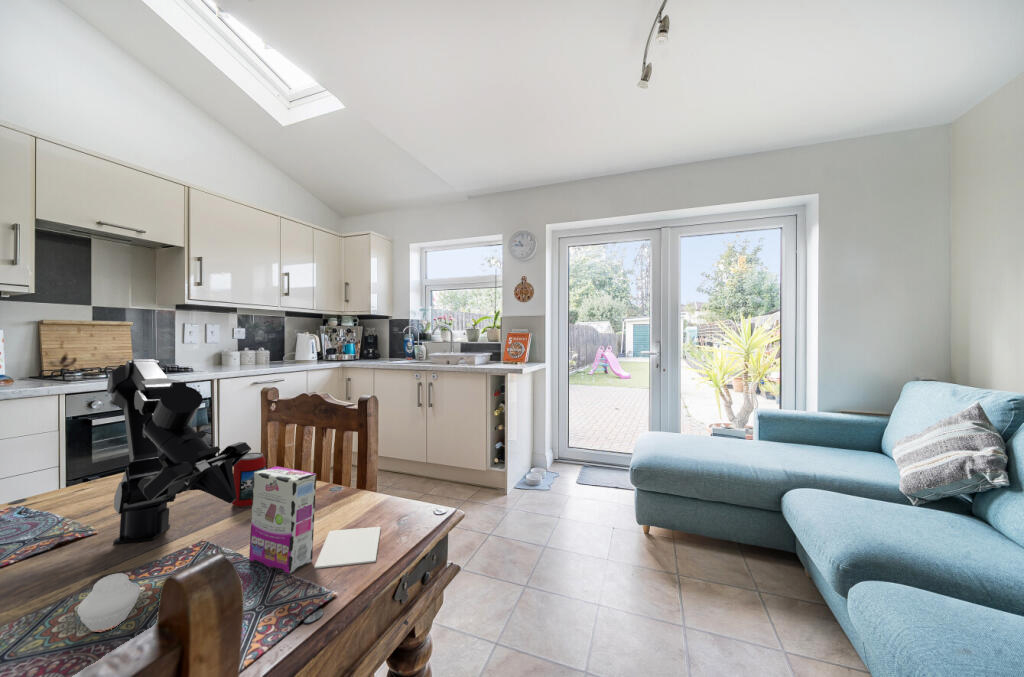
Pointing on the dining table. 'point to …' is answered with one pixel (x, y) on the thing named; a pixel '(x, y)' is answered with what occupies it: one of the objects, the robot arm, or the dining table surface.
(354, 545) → the mat
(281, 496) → the candy bar box
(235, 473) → the beverage can
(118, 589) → the white lumpy blob
